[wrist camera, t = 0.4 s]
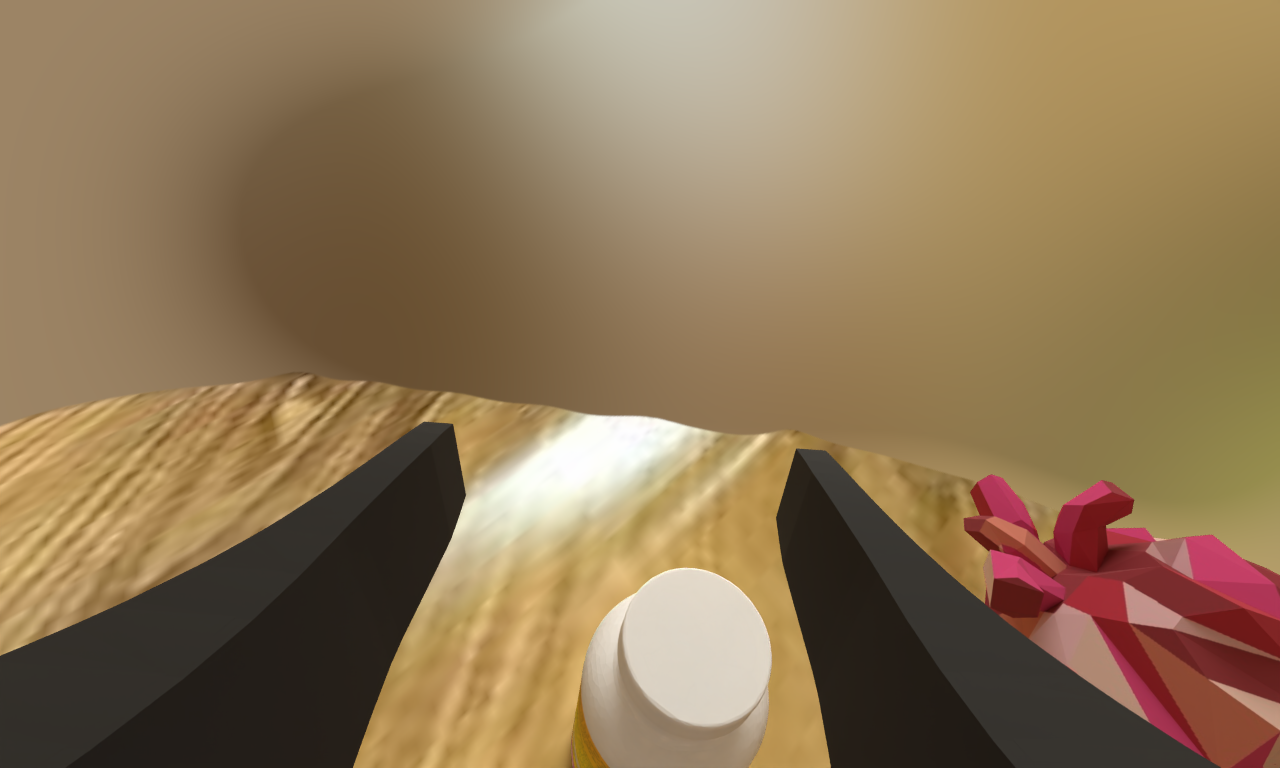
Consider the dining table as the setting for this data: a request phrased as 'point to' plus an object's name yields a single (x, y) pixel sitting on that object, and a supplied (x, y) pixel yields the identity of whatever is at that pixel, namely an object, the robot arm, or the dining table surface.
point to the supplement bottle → (675, 678)
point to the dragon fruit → (1143, 617)
